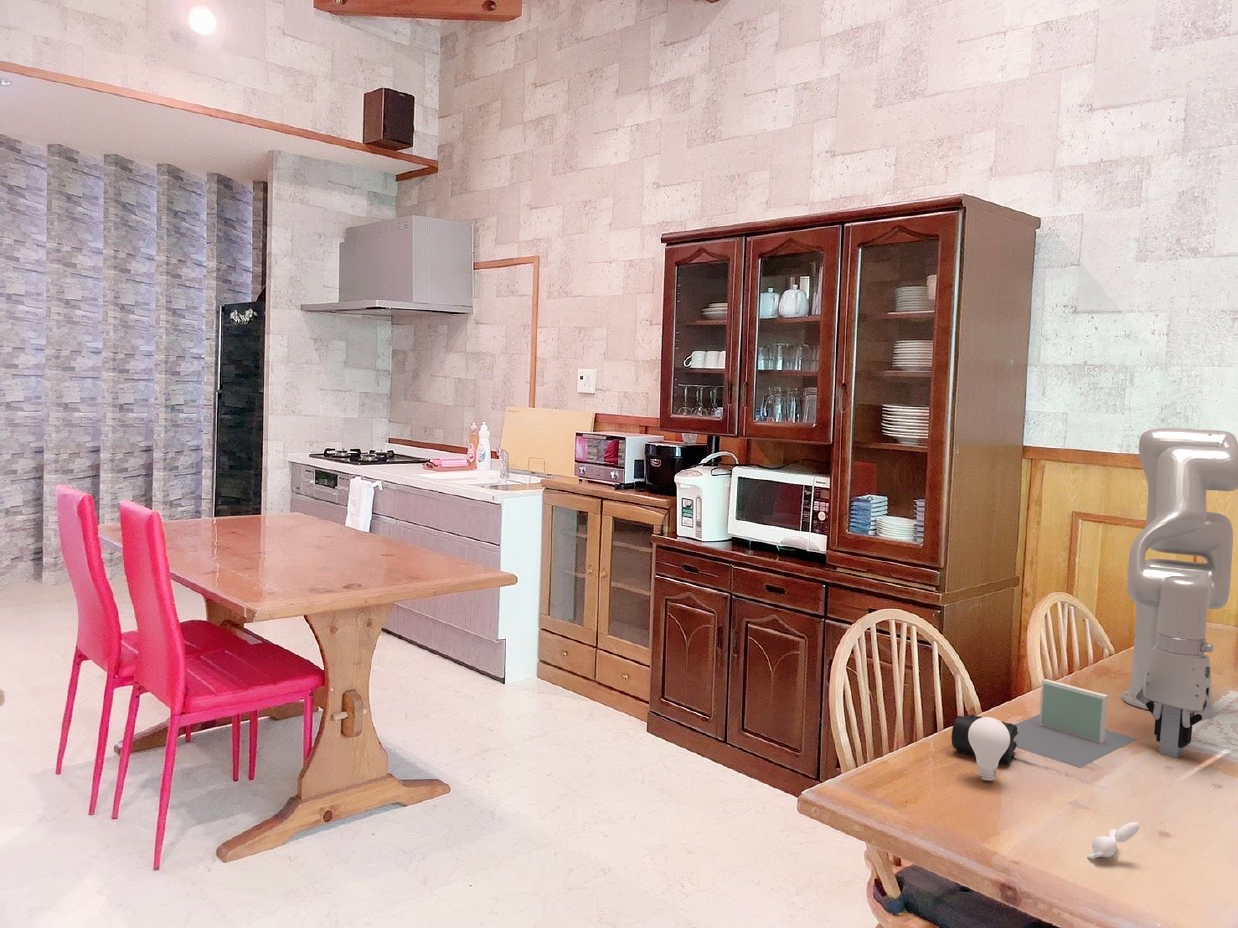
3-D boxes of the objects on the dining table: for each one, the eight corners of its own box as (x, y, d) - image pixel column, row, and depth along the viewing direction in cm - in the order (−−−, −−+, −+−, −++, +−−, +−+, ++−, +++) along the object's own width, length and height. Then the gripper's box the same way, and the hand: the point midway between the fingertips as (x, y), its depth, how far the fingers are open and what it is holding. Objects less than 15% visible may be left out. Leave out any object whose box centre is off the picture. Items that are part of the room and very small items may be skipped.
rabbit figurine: (1072, 850, 137) (1109, 819, 140) (1091, 875, 136) (1128, 843, 138) (1095, 846, 132) (1132, 814, 134) (1115, 872, 131) (1152, 838, 133)
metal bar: (1165, 754, 176) (1170, 691, 175) (1182, 760, 174) (1188, 696, 173) (1158, 758, 174) (1163, 694, 173) (1176, 763, 172) (1181, 698, 171)
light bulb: (987, 792, 157) (992, 727, 156) (956, 776, 162) (960, 714, 162) (1015, 785, 160) (1020, 721, 159) (984, 770, 166) (988, 709, 165)
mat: (1044, 716, 195) (1045, 712, 195) (1137, 743, 181) (1137, 738, 181) (983, 741, 180) (983, 736, 179) (1079, 773, 166) (1079, 767, 166)
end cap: (949, 755, 172) (952, 719, 172) (962, 744, 178) (964, 709, 177) (1007, 770, 166) (1009, 733, 166) (1018, 758, 172) (1020, 722, 171)
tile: (1042, 723, 188) (1045, 678, 187) (1104, 741, 179) (1108, 695, 178) (1038, 724, 187) (1041, 680, 186) (1100, 743, 178) (1104, 696, 177)
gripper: (1238, 652, 168) (1229, 752, 170) (1141, 632, 181) (1133, 725, 182) (1223, 658, 163) (1214, 762, 165) (1124, 637, 176) (1116, 734, 177)
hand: (1172, 742), depth 174 cm, fingers closed on metal bar, 3 cm apart
